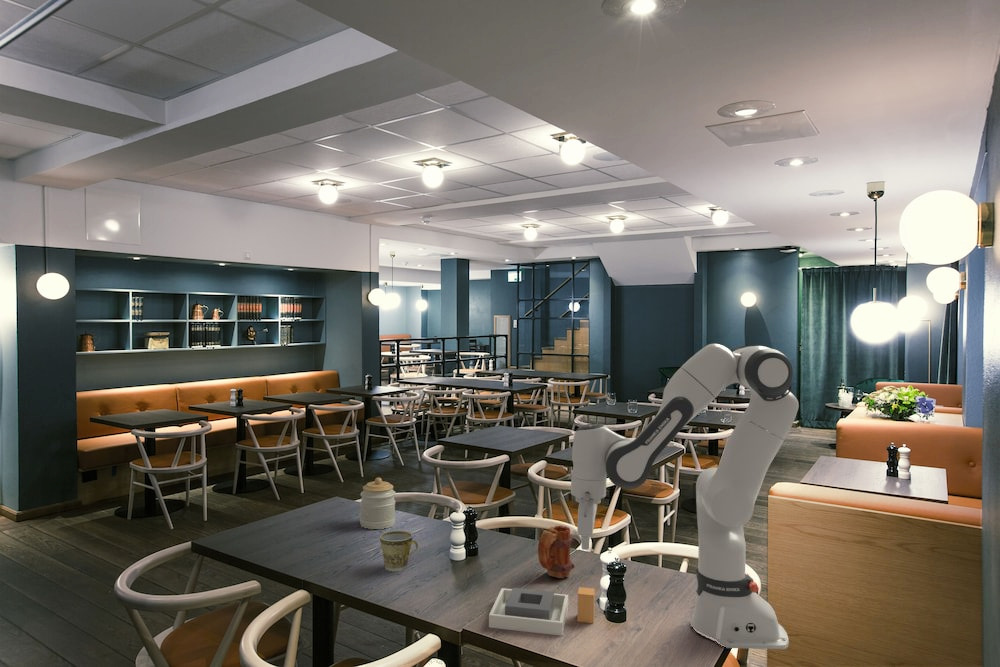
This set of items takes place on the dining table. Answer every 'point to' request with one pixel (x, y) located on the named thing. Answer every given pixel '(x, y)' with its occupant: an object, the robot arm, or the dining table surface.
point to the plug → (586, 605)
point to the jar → (377, 505)
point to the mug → (556, 551)
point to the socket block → (530, 604)
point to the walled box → (529, 624)
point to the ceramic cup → (396, 549)
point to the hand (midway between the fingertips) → (586, 542)
